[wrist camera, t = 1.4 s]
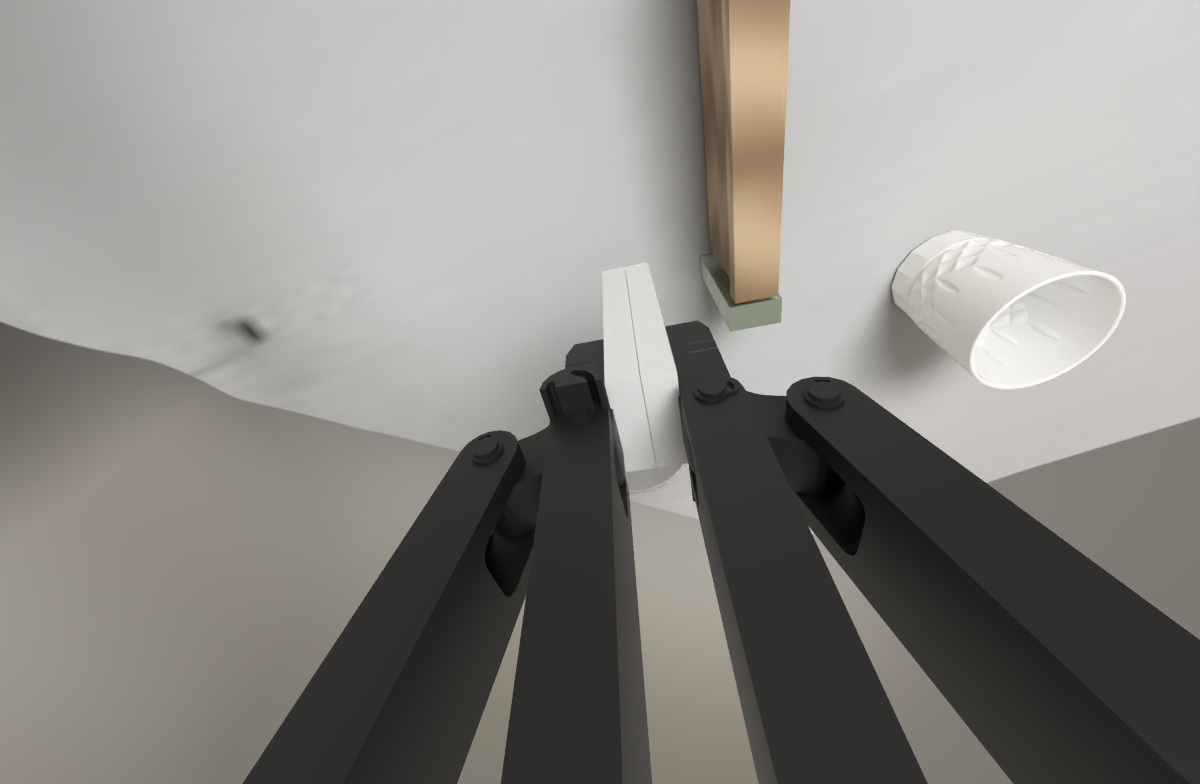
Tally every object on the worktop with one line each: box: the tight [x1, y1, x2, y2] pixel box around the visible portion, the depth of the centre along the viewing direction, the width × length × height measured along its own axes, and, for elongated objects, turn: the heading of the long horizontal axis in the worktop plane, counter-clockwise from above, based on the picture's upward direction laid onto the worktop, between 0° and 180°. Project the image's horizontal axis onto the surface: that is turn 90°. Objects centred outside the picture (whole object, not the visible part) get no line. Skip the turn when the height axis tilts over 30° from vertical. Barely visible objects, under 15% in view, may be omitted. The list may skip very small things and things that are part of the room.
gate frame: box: [700, 254, 782, 331], centre depth 21 cm, size 25×15×10 cm, turn 12°
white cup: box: [891, 230, 1126, 390], centre depth 29 cm, size 8×8×10 cm
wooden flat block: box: [697, 0, 790, 304], centre depth 23 cm, size 16×2×8 cm, turn 12°
